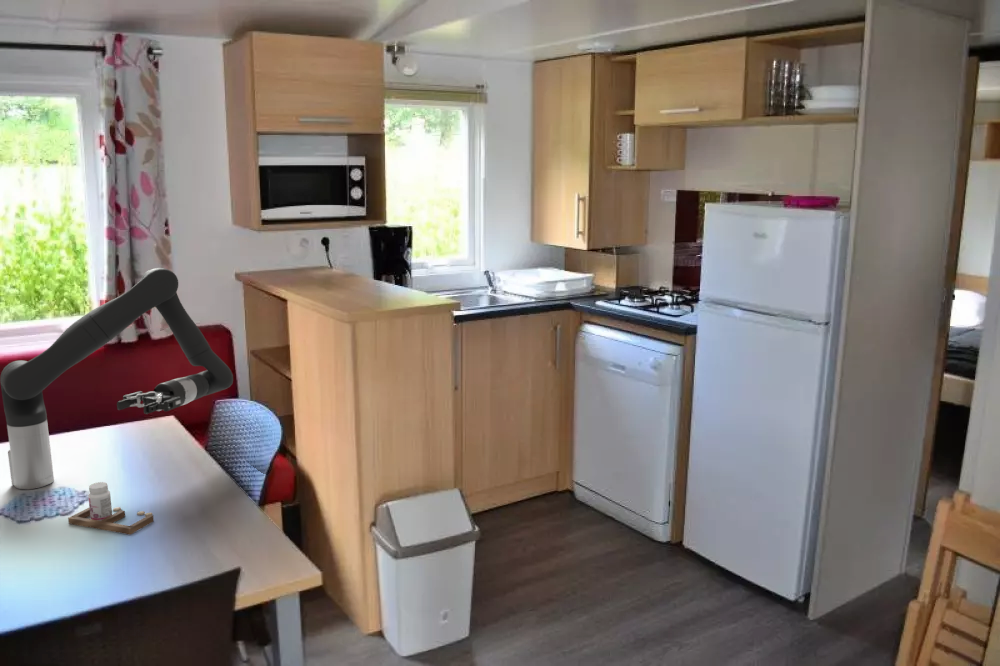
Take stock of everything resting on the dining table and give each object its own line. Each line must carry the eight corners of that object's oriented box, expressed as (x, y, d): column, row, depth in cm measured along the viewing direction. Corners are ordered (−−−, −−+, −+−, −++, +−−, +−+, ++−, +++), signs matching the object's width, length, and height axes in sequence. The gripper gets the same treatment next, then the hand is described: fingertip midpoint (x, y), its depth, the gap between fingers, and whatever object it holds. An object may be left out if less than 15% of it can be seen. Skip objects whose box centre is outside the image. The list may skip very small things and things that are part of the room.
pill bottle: (86, 519, 197) (82, 486, 196) (103, 512, 201) (100, 479, 200) (99, 523, 195) (95, 490, 193) (116, 516, 199) (113, 483, 198)
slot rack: (68, 523, 195) (68, 517, 195) (104, 505, 205) (103, 500, 205) (130, 534, 189) (129, 528, 189) (163, 515, 199) (163, 510, 199)
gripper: (153, 377, 225) (108, 390, 210) (196, 382, 221) (153, 397, 206) (155, 403, 227) (109, 418, 212) (197, 409, 222) (154, 425, 207)
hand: (131, 408), depth 209 cm, fingers open, 8 cm apart
